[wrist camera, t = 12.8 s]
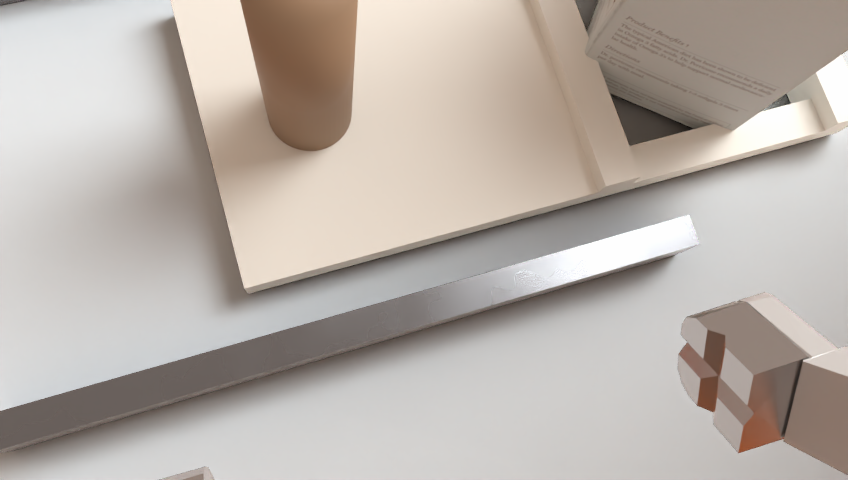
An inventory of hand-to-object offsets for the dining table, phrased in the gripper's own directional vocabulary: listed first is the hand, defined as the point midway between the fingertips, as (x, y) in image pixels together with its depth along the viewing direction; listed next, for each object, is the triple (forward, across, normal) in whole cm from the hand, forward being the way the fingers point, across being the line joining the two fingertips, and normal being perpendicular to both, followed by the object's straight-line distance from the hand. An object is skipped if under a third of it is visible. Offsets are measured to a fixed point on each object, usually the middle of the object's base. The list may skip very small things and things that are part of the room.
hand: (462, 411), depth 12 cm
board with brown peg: (+19, -9, +3) cm, 21 cm away
